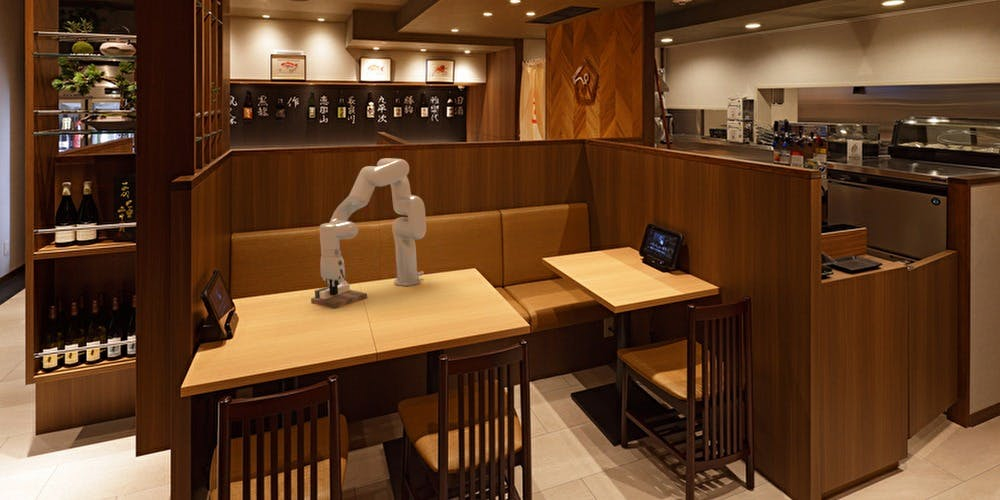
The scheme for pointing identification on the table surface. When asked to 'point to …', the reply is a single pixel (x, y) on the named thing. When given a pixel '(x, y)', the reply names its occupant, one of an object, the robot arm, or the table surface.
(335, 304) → the brown rectangular tray
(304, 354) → the table surface
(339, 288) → the hinged leg
